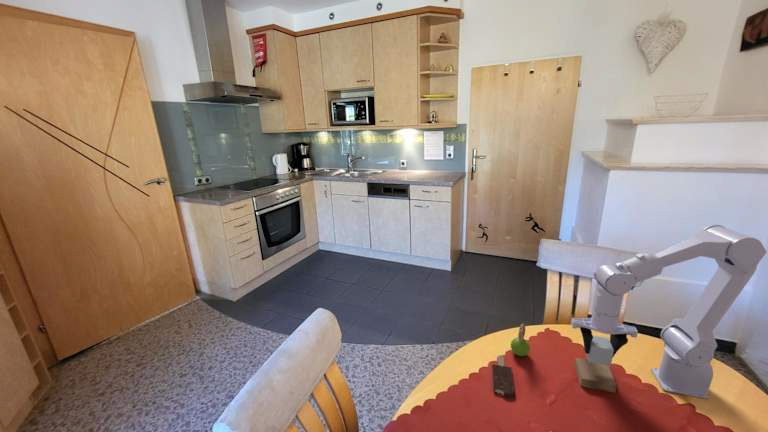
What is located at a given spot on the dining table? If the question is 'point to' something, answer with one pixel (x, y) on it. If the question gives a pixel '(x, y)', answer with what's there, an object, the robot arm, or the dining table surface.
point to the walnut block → (594, 375)
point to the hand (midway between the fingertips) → (598, 353)
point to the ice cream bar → (503, 379)
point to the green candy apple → (520, 343)
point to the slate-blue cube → (600, 351)
